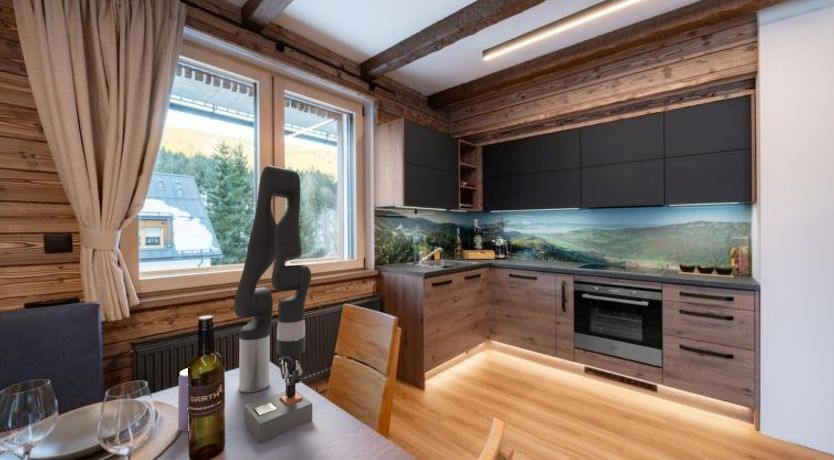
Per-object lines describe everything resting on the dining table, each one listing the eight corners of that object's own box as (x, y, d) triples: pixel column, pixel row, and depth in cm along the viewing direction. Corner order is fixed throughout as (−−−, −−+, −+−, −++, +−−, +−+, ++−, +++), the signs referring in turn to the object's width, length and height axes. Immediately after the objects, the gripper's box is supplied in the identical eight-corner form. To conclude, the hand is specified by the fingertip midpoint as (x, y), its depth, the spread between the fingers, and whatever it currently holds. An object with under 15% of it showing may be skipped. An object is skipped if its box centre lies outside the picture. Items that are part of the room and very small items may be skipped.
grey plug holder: (243, 423, 90) (244, 405, 90) (293, 404, 100) (293, 388, 100) (259, 443, 82) (259, 423, 82) (312, 421, 91) (312, 403, 91)
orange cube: (279, 412, 93) (280, 396, 93) (294, 406, 96) (295, 391, 96) (286, 419, 90) (286, 402, 90) (301, 412, 93) (301, 397, 93)
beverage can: (191, 434, 85) (191, 376, 85) (172, 431, 87) (172, 374, 87) (210, 421, 91) (210, 367, 91) (192, 418, 92) (192, 365, 92)
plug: (253, 425, 88) (253, 408, 88) (270, 418, 91) (270, 402, 91) (259, 432, 85) (259, 415, 85) (276, 425, 88) (276, 408, 88)
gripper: (268, 332, 95) (268, 392, 95) (287, 344, 86) (287, 410, 86) (293, 327, 101) (293, 384, 101) (314, 338, 91) (314, 400, 91)
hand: (290, 396), depth 93 cm, fingers closed
